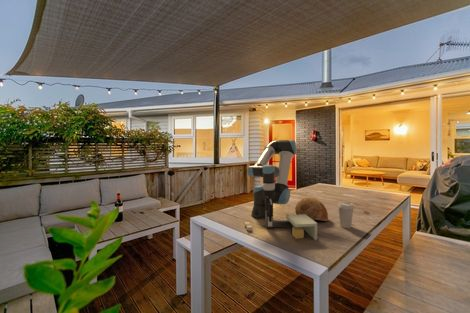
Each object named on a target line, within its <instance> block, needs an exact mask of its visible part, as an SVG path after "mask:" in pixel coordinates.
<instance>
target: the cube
mask: <svg viewBox="0 0 470 313" xmlns="http://www.w3.org/2000/svg"><path fill="white" fill-rule="evenodd" d="M291 227H292V226H291ZM291 231H292V233H291V234H292V236H293V238H294V239H303V238H304V234H305V230H304V229H303V227H292V230H291Z"/></svg>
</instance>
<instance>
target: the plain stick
mask: <svg viewBox="0 0 470 313" xmlns="http://www.w3.org/2000/svg"><path fill="white" fill-rule="evenodd" d="M243 224H244V225H245V226H244V225H243V226H244V228H245V227H246V228H245V229H247V230H248V231H252V232H253V231H254V230H253V226H252V225H251V223H250V222H249V221H244V223H243ZM247 230H246V231H247ZM248 231H247V232H248Z"/></svg>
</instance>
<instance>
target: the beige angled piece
mask: <svg viewBox="0 0 470 313" xmlns="http://www.w3.org/2000/svg"><path fill="white" fill-rule="evenodd" d="M285 219H287V220H289V222H290V223H291V224H292V225H293V226H294V227H302V228H303V229H304V232H306V233H307V234H308V235H309V236H310V237H311V238H312V239H313V240H314V241H317V240H318V222H316V221H315V219H311V218H310V217H308V216H307V215H306V214H302V215H296V214H286V215H285Z"/></svg>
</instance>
